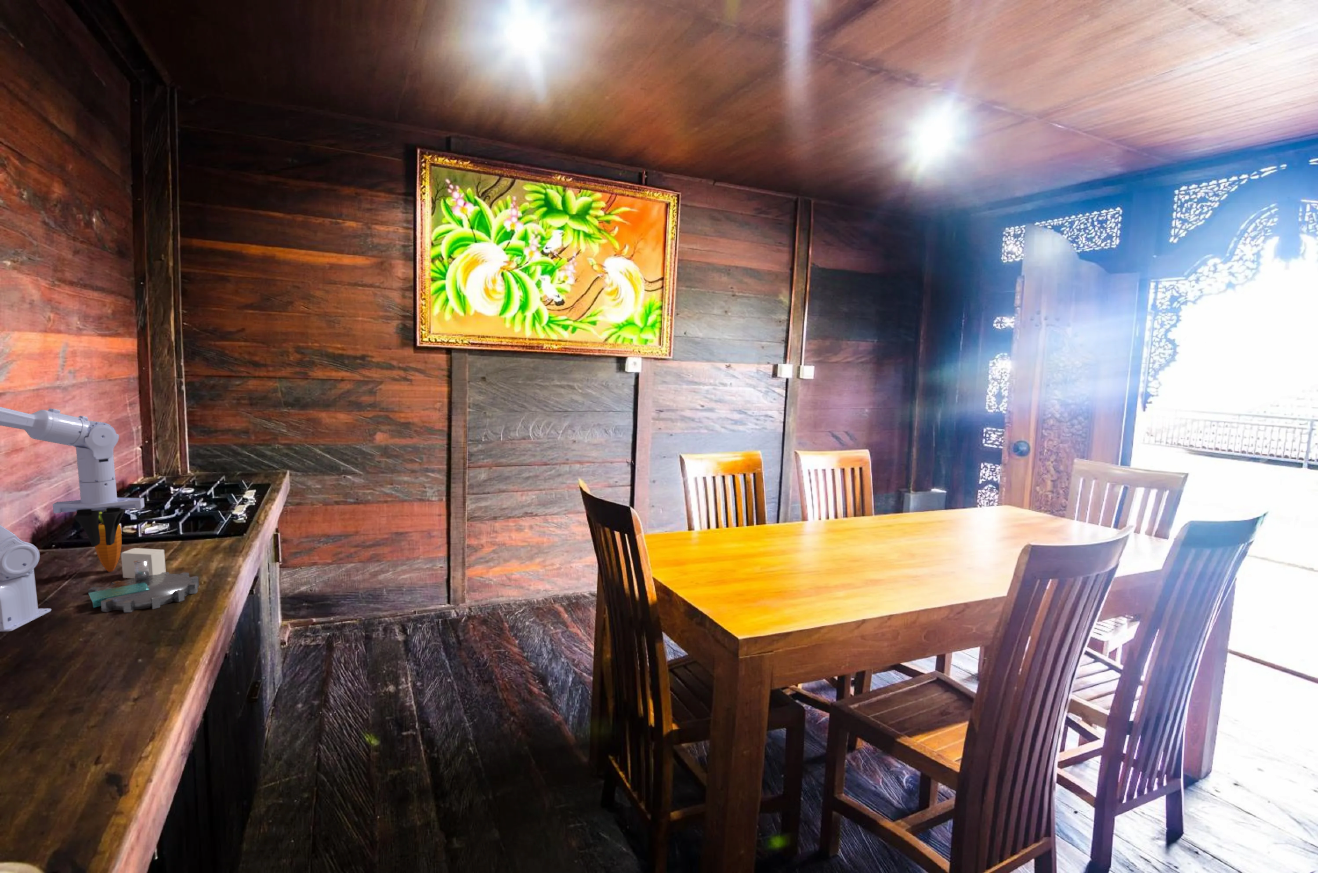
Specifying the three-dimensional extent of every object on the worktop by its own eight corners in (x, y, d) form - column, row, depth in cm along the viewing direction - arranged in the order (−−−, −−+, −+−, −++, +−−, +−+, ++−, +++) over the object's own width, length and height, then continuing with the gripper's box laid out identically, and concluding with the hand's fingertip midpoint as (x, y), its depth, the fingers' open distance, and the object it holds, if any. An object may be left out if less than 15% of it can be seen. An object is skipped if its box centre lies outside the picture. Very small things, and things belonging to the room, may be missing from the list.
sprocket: (166, 612, 130) (164, 582, 130) (70, 613, 129) (67, 583, 128) (216, 580, 148) (214, 554, 147) (131, 581, 146) (129, 554, 145)
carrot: (108, 577, 148) (102, 511, 146) (90, 575, 149) (84, 509, 147) (130, 570, 153) (125, 505, 151) (112, 567, 154) (107, 504, 152)
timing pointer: (107, 593, 140) (107, 587, 139) (101, 595, 138) (101, 590, 138) (94, 592, 140) (93, 586, 140) (88, 594, 138) (87, 589, 138)
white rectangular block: (166, 575, 151) (164, 549, 150) (153, 581, 147) (151, 554, 146) (136, 573, 151) (134, 548, 150) (123, 579, 148) (121, 552, 147)
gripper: (147, 474, 143) (152, 536, 145) (62, 477, 137) (68, 541, 139) (135, 481, 136) (140, 545, 138) (45, 484, 131) (51, 551, 133)
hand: (103, 544), depth 138 cm, fingers closed
